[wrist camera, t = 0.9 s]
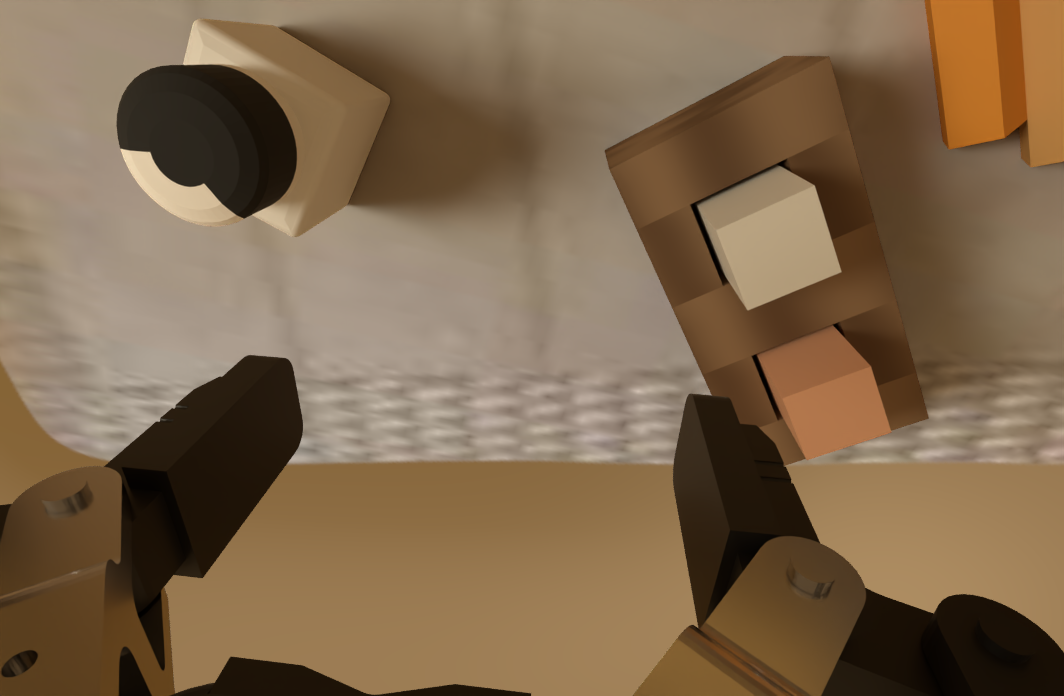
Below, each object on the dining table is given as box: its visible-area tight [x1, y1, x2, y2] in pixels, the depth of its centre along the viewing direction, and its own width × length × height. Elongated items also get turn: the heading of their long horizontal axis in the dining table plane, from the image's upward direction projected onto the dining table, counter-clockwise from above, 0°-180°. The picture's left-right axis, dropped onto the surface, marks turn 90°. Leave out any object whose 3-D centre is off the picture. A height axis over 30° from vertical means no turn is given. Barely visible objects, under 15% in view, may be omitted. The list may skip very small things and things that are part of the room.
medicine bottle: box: [117, 19, 390, 237], centre depth 27 cm, size 7×7×12 cm
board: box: [605, 56, 928, 466], centre depth 32 cm, size 10×20×6 cm, turn 28°
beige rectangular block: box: [694, 164, 841, 310], centre depth 26 cm, size 4×4×6 cm
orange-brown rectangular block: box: [755, 325, 891, 460], centre depth 29 cm, size 4×4×6 cm
